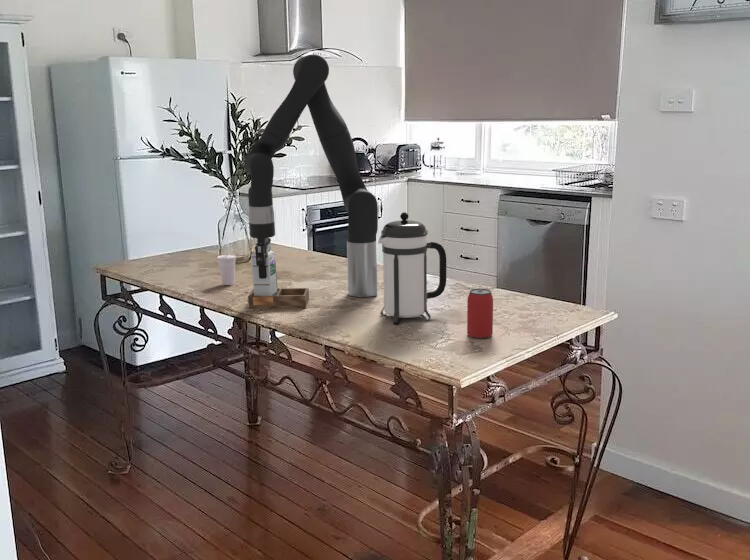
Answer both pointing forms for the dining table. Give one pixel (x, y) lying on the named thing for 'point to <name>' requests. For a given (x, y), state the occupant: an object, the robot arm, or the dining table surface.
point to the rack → (280, 299)
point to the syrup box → (270, 282)
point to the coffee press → (408, 269)
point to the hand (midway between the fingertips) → (264, 275)
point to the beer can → (480, 313)
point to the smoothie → (227, 267)
